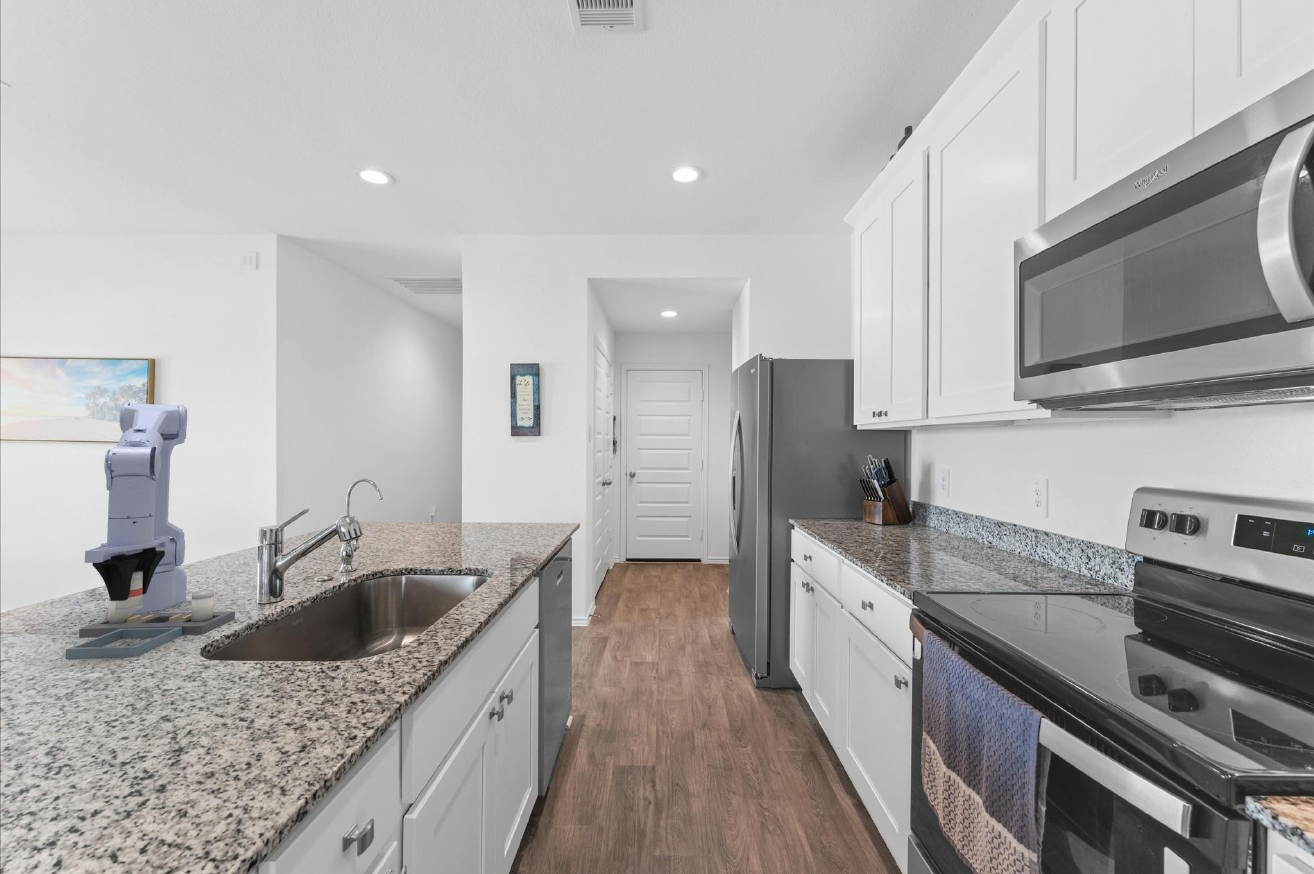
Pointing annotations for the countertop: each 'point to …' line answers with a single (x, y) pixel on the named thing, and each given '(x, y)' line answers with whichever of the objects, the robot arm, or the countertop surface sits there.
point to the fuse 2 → (202, 606)
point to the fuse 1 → (114, 617)
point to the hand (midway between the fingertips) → (129, 597)
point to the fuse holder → (160, 623)
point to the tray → (96, 651)
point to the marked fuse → (132, 596)
